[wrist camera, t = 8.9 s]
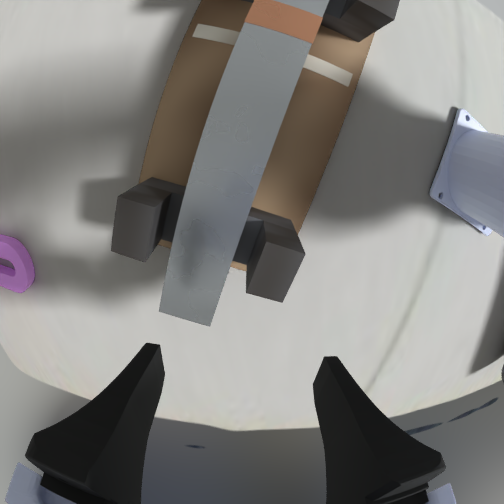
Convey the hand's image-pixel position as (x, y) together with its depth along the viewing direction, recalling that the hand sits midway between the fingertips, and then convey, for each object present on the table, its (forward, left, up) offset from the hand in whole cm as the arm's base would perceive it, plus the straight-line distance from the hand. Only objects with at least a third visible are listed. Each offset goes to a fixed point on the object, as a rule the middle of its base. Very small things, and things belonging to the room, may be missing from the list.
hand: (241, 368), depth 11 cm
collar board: (+3, -11, -9) cm, 15 cm away
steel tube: (+3, -10, -7) cm, 12 cm away
